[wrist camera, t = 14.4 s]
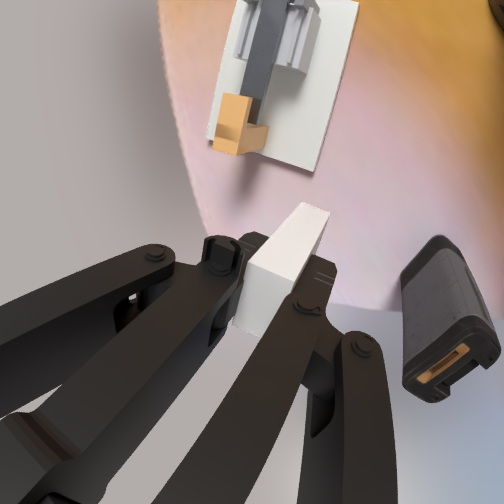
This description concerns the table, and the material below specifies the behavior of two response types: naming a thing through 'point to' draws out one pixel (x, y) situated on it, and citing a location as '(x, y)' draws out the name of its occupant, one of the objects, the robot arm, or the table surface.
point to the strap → (263, 55)
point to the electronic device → (443, 322)
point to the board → (292, 74)
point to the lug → (237, 127)
